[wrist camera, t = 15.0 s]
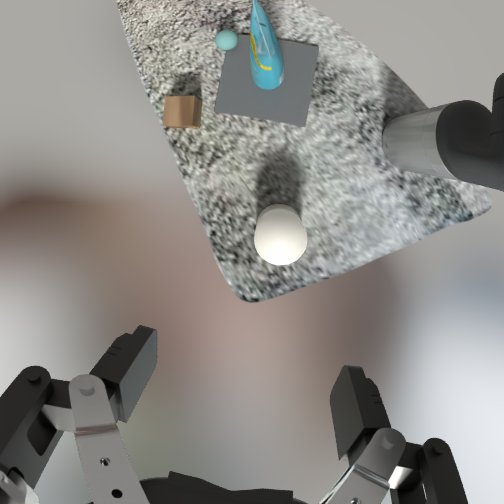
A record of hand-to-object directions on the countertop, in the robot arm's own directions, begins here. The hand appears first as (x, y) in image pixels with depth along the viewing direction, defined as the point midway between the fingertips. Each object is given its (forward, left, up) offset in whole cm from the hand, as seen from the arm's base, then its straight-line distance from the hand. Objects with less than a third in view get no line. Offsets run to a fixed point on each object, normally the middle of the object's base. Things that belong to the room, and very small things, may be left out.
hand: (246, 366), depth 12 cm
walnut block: (+13, -13, -34) cm, 39 cm away
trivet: (+4, -21, -36) cm, 42 cm away
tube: (+4, -21, -36) cm, 42 cm away
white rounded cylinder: (-2, +2, -36) cm, 36 cm away
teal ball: (+11, -26, -36) cm, 45 cm away
